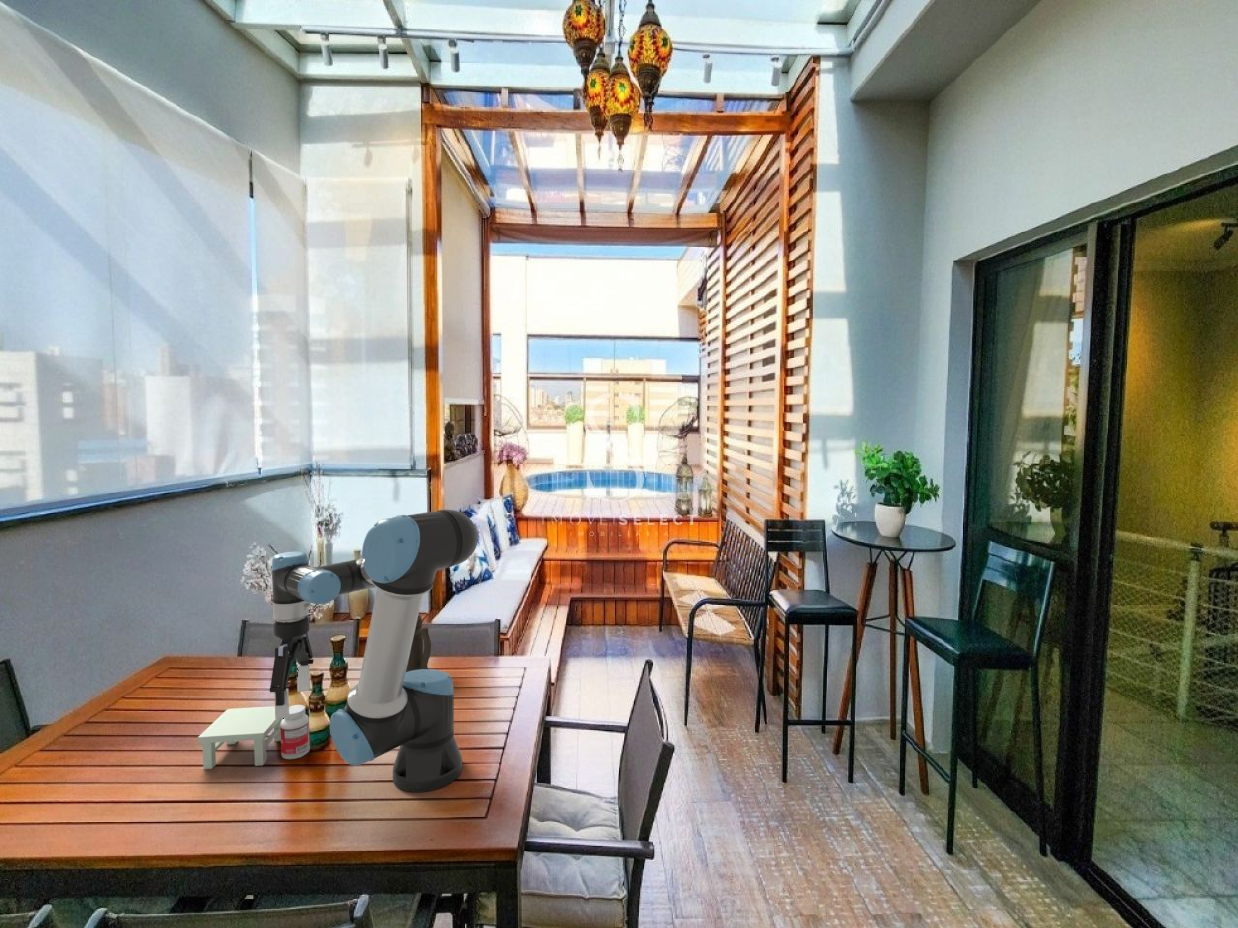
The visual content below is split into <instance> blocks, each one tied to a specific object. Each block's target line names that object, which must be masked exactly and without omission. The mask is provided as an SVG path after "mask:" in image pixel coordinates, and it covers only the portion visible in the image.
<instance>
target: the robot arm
mask: <svg viewBox="0 0 1238 928" xmlns="http://www.w3.org/2000/svg"><path fill="white" fill-rule="evenodd" d="M478 537H479V536H478V529H477V527H476V525H475V523H474V521H472V519H471V518H470V517H469V516H468V515H466V514H464V513H463V512H461V511H458V510H455V509H441V510H436V511H434V510H433V511H427V512H421V513H414V514H397V515H394V516H392V517H388V518H383V519H381V520H380V519H379V521H377V522H376V523H374V524H373V525H372V526H371V527H370V528H369V529H368V530H367V533H366V535H365V537H364V540H363V542H362V548H361V549H362V551H361V557H359V558H356V559H352V560H348V561H347V560H346V561H341V562H336V563H331V564H326V565H320V566H312V565H309V563H310V561H309V558H308V554H307V553H306V552H304V551H287V552H280V553H277V554H275V555H274V556H273V557H272V561H271V562H272V564H271V571H270V572H271V579H272V580H271V581H272V582H271V584H272V618H273V619H274V620H273V622H272V623H273V635H274V637H276V638H279V639H280V640H281V643H280V645H279V646H275V648H274V660H273V667H272V673H271V679H270V686H269V693H270V694H271V693H274V706H275V718H288V717H289V707H290V701H289V695H290V694H289V688H287V687H288V684H289V679H290V675H291V670H292V666H293V663H294V662H296V663H298V665H297V666H296V673H297V672H298V677H297V676H296V683H297V684H296V685H297V686H296V688H297V689H296V690H297V692H298V693H301V692H303V693H305V692H310V691H311V682H310V681H311V679H310V677H311V676H310V675H311V674H310V672H311V671H310V670H311V669H310V665H313V664H314V658H313V657H314V656H313V655H314V654H313V651H312V647H311V643H310V639H309V635H308V633H309V631H310V617H309V613H310V611H309V610H310V609H309V608H310V607H311V605H312V604H314V605H326V604H329V603H331V602H332V601H333V600H335V599H336V598H337V597H338V596H342V595H347V594H350V593H354V592H357V591H362V590H367V589H373V588H376V594H375V597H374V603H373V608H372V613H371V619H370V623H369V628H368V633H367V639H366V643H365V648H364V649H365V650H364V653H363V658H362V659H363V660H362V662H361V663H362V664H361V669H360V673H359V679H358V683H357V684H355V685H354V686H353V687H352V688H351V689H350V690H349V692H348V693H347V699H346V703H345V706H344V708H339V709H337V710H336V711H335V712H333V713H332V714H331V715H330V719H329V731H330V736H331V739H332V742H333V745H334V747H335V750H336V751H337V752H338V755H339V756H340V757H341V758H342V760H344V761H345V763H347V764H348V765H351V766H353V767H354V766H360V765H363V764H365V763H368V762H372V761H374V760H375V759H377V758H379V757H381V756H383V755H385V754H387V753H389V752H390V751H393V750H395V749H397V748H398V751H397V755H396V757H395V760H394V764H393V767H392V782H393V783H394V785H395V786H396V787H397V788H399V789H401V790H403V791H406V792H413V793H421V792H422V793H423V792H429V791H434V790H437V789H441V788H444V787H446V786H447V785H450V784H451V783H453V782H454V781H455V780H457V778H459V776H460V775H461V773H462V771H463V756H462V755H461V754H462V753H461V751H460V748H459V746H458V743H457V741H456V738H455V721H454V720H455V719H454V712H455V711H454V710H455V709H454V707H455V706H454V705H455V703H454V701H455V700H454V695H455V691H454V683H453V682H454V680H453V678H452V676H451V675H450V674H449V673H447V672H445V671H442V670H438V669H431V668H430V669H429V668H428V669H420V670H413V671H409V672H406V669H407V664H408V660H409V655H410V650H411V646H412V641H413V637H414V632H415V628H416V623H417V619H418V615H419V613H420V608H421V604H422V600H423V595H424V594H426V593H428V592H430V591H431V590H432V589H433V587H434V582H435V578H436V574H437V572H438V571H439V570H444V569H447V568H448V569H449V568H451V567H454V566H459V565H460V564H462V563H464V562H465V561H467V560H468V559H469V558H470V557H471V556H472V555H473V554H474V552H475V551H476V548H477V545H478V541H479V538H478ZM297 668H298V670H299V671H298V670H297Z"/></svg>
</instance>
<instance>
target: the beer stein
mask: <svg viewBox="0 0 1238 928" xmlns="http://www.w3.org/2000/svg"><path fill="white" fill-rule="evenodd" d="M431 653H432V641H431V637H430V633H429V627H428V626H423V619H422V616H421V615H419V614H418V619H417V623H416V628H415V632H414V637H413V641H412V646H411V650H410V655H409V660H408V664H407V669H406V672H409V671H413V670H420V669H429V668H428V665H429V664H428V663H429V661H430V656H431Z"/></svg>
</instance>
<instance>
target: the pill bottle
mask: <svg viewBox="0 0 1238 928" xmlns="http://www.w3.org/2000/svg"><path fill="white" fill-rule="evenodd" d="M280 731H281V741H280V750H281V751H280V754H281V757H282V758H283V759H285V760H296V759H300V758H302V757H304V756H305V755H308V753H309V752H310V749H311V741H310V738H311V736H310V735H311V734H310V717H309V716H308V715H307V714H306V706H305V705H304V704H294V705H291V706H290V705H289V717H288V718H284V719H283V720H282V721H281V724H280Z"/></svg>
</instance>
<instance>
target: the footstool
mask: <svg viewBox="0 0 1238 928" xmlns="http://www.w3.org/2000/svg"><path fill="white" fill-rule="evenodd" d="M282 720H283V718H275V705H272V706H270V705H269V706H258V707H257V706H256V707H255V706H254V707H240V708H239V707H238V708H237V707H235V708H227V709H226V710H225V711H224V712H222V713H221V715H220V716H219V717H217V719H215V720H214V721H213V722H212V723H211V724H210V725H209V726H207V728H206V729H204V730H203V732H202V733H200V735H198V736H197V744H199V745H200V744H202V760H203V761H202V763H203V765H202V766H203V770H212V769H214V767H215V766H217V759H216V758H217V757H216V752H217V751H218V749H220V748H221V746H222V745H223V744H225V743H226V745H236V743H237V742H244V741H253V752H254V754H253V755H254V766H255V767H257V766H263V765H265V763H266V762H267V747H268V746H269V745H270V744H271V743H272V741H274V742H281V731H280V724H281V721H282ZM270 733H271V734H270ZM269 734H270V735H269ZM268 735H269V736H268ZM267 736H268V737H267ZM266 737H267V738H266Z"/></svg>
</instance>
